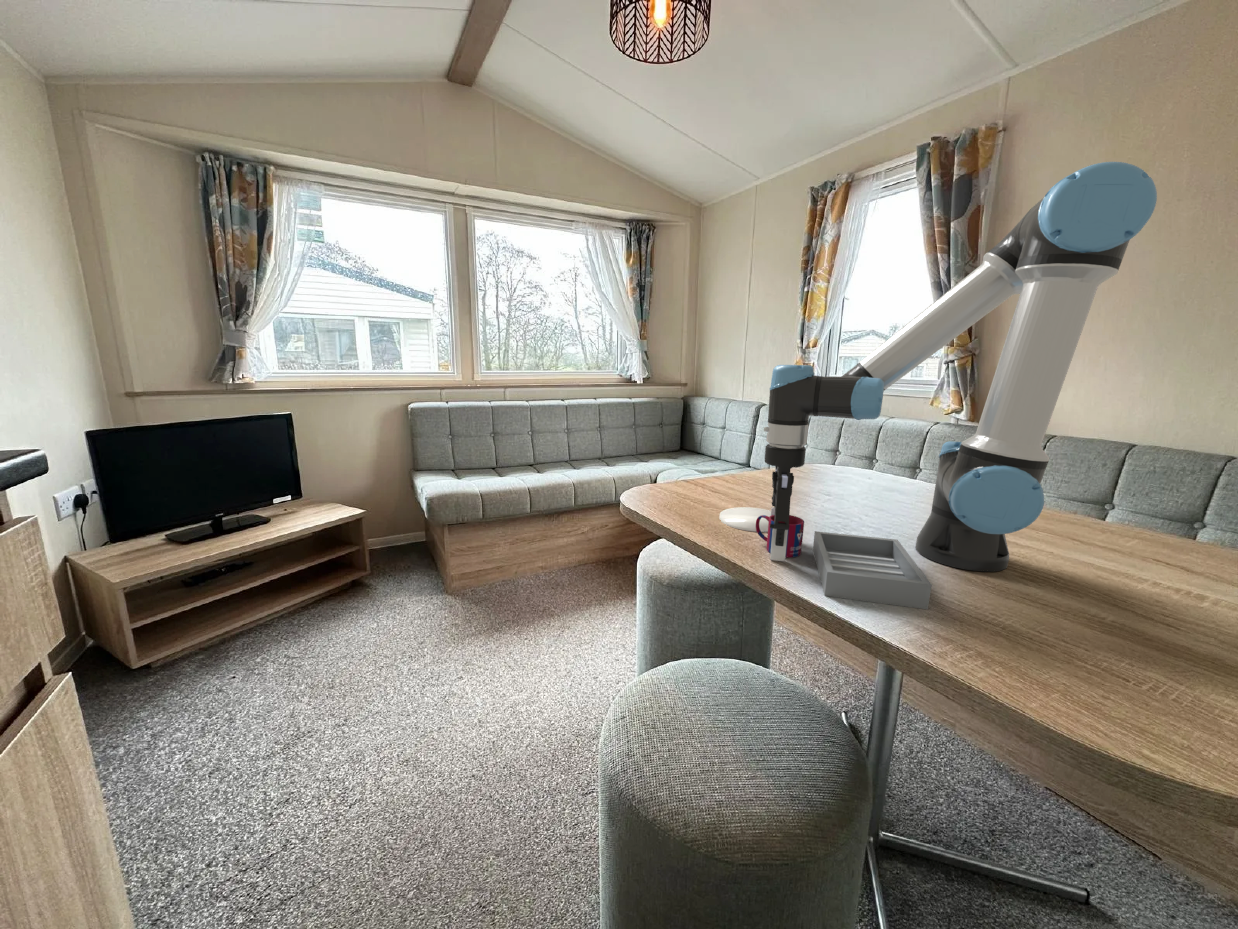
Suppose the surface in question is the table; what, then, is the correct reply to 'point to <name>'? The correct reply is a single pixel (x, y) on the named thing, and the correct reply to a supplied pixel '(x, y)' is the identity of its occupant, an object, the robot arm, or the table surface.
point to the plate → (745, 518)
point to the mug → (792, 537)
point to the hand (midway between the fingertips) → (776, 547)
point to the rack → (869, 570)
